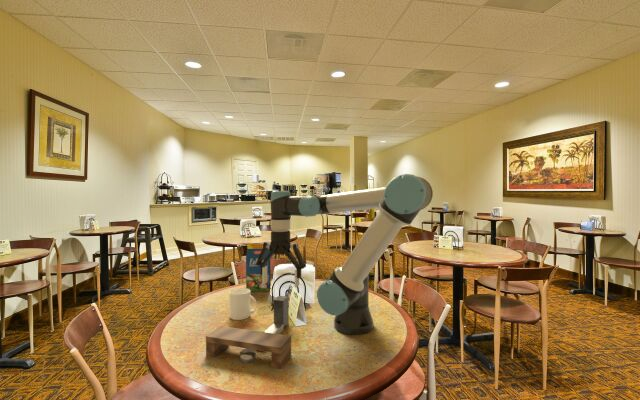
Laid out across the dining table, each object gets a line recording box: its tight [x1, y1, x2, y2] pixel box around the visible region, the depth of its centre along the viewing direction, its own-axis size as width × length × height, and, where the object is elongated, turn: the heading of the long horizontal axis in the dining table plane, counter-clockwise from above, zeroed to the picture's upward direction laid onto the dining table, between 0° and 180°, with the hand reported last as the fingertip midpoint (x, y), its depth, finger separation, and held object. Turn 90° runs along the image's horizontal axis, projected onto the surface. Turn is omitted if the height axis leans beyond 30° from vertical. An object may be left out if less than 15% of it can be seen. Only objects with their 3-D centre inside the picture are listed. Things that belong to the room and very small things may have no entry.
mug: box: [228, 287, 258, 321], centre depth 129 cm, size 9×12×11 cm
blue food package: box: [245, 243, 272, 292], centre depth 166 cm, size 6×12×25 cm, turn 89°
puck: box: [239, 348, 257, 364], centre depth 95 cm, size 5×5×2 cm
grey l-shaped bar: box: [264, 295, 290, 334], centre depth 112 cm, size 21×4×11 cm, turn 163°
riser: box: [205, 325, 292, 370], centre depth 98 cm, size 26×8×6 cm, turn 73°
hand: (280, 284), depth 119 cm, fingers open, 13 cm apart
